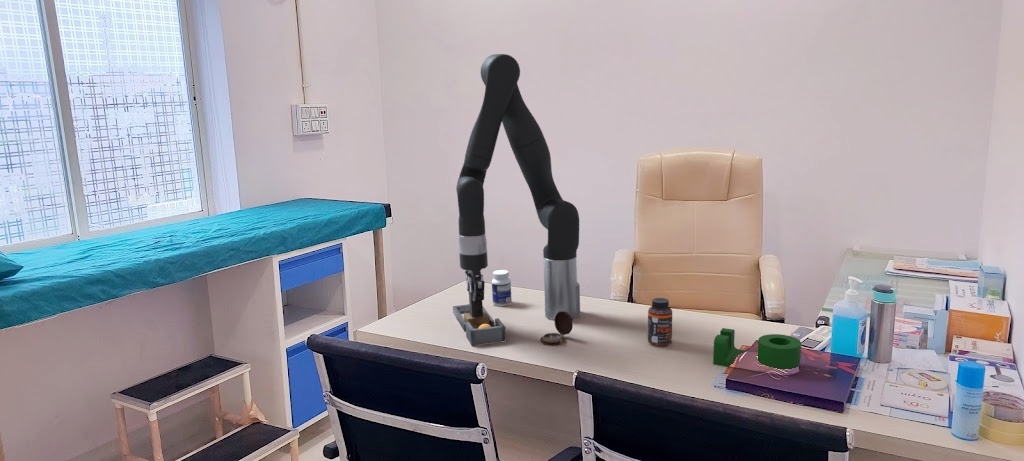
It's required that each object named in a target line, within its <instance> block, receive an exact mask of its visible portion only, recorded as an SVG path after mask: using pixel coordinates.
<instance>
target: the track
mask: <svg viewBox="0 0 1024 461" xmlns="http://www.w3.org/2000/svg"><path fill="white" fill-rule="evenodd" d="M483 311H485V312H486V313H487V314H488V316H489V323H490V326H491V327H495V319H493V317H492V316H491V314H490V313H489V312H488V311H487V310H486V307H484V306H483ZM464 312H465V313H470V305H469V304H461V305H460V304H459V305H452V313H453V315H454V317H455V318H456V320H457V322H458V324H459V325H460V326H461V328H462V330H463V331H464V333H466V323H465V320H464V316H463V315H462V314H464Z"/></svg>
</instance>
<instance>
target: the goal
mask: <svg viewBox="0 0 1024 461" xmlns="http://www.w3.org/2000/svg"><path fill="white" fill-rule="evenodd" d="M465 323H466V332H465V337H466V339H467V340H468V342H469V343H470V344H469V345H471V347H474V346H481V345H489V344H496V343H503V342H507V335H506V326H505V324H504V323H503V322H502V321H501V319H500V318H494V327H488V328H480V329H478V328H477V329H473V327H472V326H471V324H470V322H465Z"/></svg>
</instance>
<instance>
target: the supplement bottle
mask: <svg viewBox="0 0 1024 461" xmlns="http://www.w3.org/2000/svg"><path fill="white" fill-rule="evenodd" d="M669 301H670V300H669V299H668V298H665V297H655V298H652V300H651V303H652V305H651V306H650V307H649V308H648V311H647V343H649V344H650V345H652V346H653V347H667V346H670V345H671V344H672V341H673V310H672V308H671V307H669V305H670V304H669V303H670V302H669Z"/></svg>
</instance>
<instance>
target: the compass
mask: <svg viewBox="0 0 1024 461" xmlns="http://www.w3.org/2000/svg"><path fill="white" fill-rule="evenodd" d="M553 323H554V327H555V329H556V331H557V332H558V333H557V332H551V333H550V332H549V333H546V334H543V335H542V336H541V338H540V342H541V343H542V344H544V345H547V346H559V345H561V344H562V345H565V344H567V340H565V335H569V334H570V333H571V332H572V330H573V326H574V324H573V323H574V322H573V319H572V318H571V316H570V314H569V313H568V312H566V311H560V312H558V313H557V314H556V316H555V320H554V322H553Z"/></svg>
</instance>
